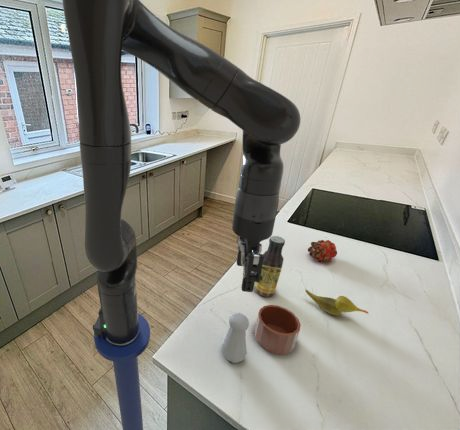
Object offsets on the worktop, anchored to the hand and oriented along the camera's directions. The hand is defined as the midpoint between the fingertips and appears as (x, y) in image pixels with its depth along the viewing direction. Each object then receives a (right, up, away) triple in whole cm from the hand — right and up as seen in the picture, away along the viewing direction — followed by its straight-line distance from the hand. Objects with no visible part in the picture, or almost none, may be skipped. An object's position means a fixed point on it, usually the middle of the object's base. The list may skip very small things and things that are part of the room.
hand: (243, 277), depth 57 cm
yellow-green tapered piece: (+32, -15, +19) cm, 40 cm away
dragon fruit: (+45, -3, +42) cm, 61 cm away
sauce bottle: (+17, -11, +27) cm, 34 cm away
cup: (+12, -19, +12) cm, 25 cm away
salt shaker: (0, -22, +8) cm, 23 cm away
